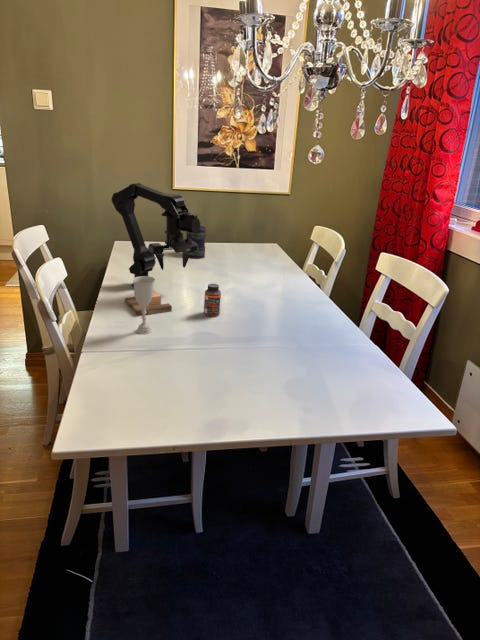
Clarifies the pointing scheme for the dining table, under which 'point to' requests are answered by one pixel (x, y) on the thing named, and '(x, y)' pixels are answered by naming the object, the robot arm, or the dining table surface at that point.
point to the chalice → (143, 299)
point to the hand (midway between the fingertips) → (173, 268)
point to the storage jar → (198, 242)
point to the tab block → (155, 299)
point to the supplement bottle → (212, 300)
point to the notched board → (154, 309)
